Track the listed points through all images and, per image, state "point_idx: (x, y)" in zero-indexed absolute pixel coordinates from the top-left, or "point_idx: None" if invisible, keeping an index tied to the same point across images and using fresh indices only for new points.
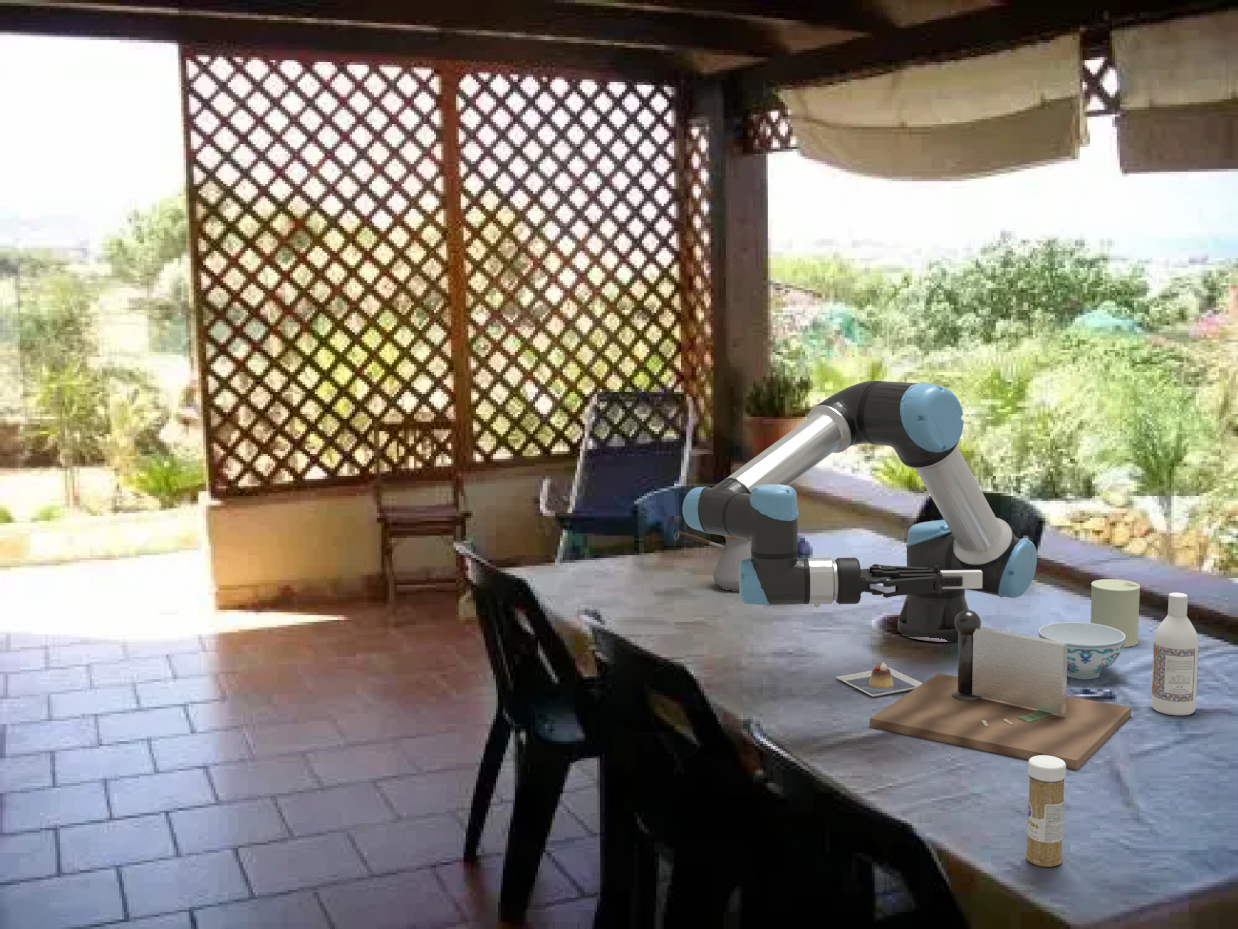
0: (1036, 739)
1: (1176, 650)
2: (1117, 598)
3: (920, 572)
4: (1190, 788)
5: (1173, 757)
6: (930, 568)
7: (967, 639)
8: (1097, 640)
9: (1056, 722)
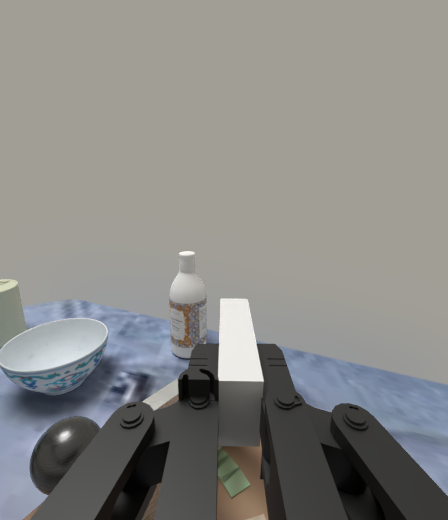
0: None
1: (204, 299)
2: (9, 297)
3: (214, 493)
4: (379, 386)
5: (305, 377)
6: (142, 411)
7: None
8: (47, 340)
9: (246, 446)
